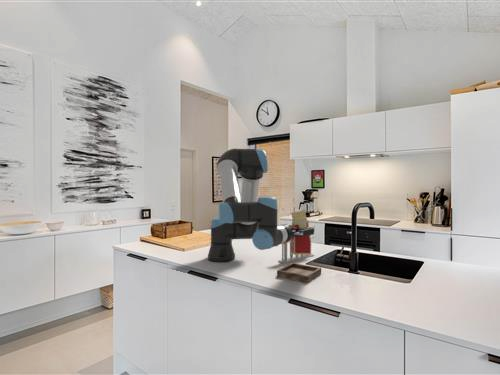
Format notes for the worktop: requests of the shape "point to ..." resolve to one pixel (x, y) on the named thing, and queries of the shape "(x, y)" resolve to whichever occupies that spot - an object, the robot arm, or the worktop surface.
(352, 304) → the worktop surface
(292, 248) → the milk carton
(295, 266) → the walnut tray
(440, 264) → the worktop surface
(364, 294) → the worktop surface
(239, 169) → the robot arm
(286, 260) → the test tube rack
